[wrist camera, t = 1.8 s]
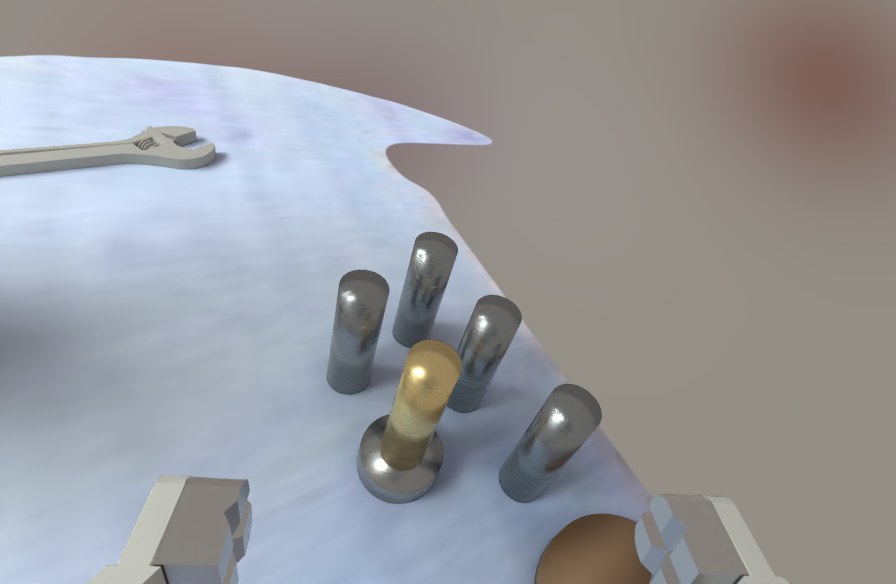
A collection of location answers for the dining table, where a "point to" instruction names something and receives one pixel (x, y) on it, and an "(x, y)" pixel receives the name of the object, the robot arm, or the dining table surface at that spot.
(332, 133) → the dining table surface
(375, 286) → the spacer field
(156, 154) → the adjustable wrench
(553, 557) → the walnut plate
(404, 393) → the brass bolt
